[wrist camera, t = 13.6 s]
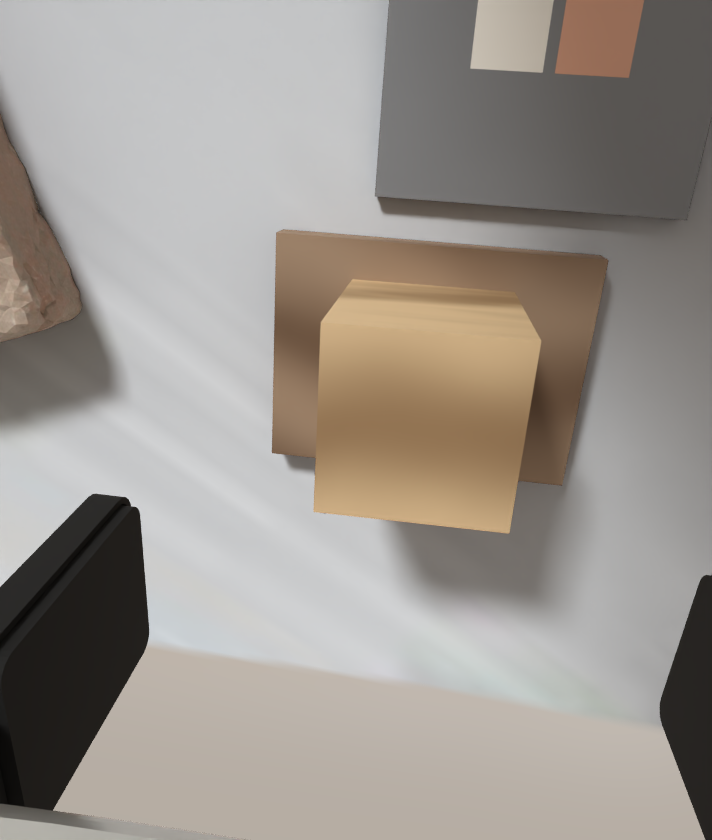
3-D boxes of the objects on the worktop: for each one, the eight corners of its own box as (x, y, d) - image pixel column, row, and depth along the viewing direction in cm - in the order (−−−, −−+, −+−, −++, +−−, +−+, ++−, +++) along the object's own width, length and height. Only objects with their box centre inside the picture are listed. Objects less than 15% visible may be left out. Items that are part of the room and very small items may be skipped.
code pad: (403, -177, 20) (402, -187, 20) (773, -167, 20) (784, -177, 19) (376, 195, 25) (374, 196, 24) (681, 218, 24) (686, 220, 23)
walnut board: (283, 229, 25) (276, 232, 24) (600, 255, 24) (608, 260, 23) (278, 441, 29) (271, 453, 28) (557, 472, 28) (561, 485, 27)
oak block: (352, 279, 25) (320, 322, 18) (514, 291, 24) (541, 340, 18) (344, 426, 27) (313, 511, 20) (492, 441, 26) (509, 533, 20)
